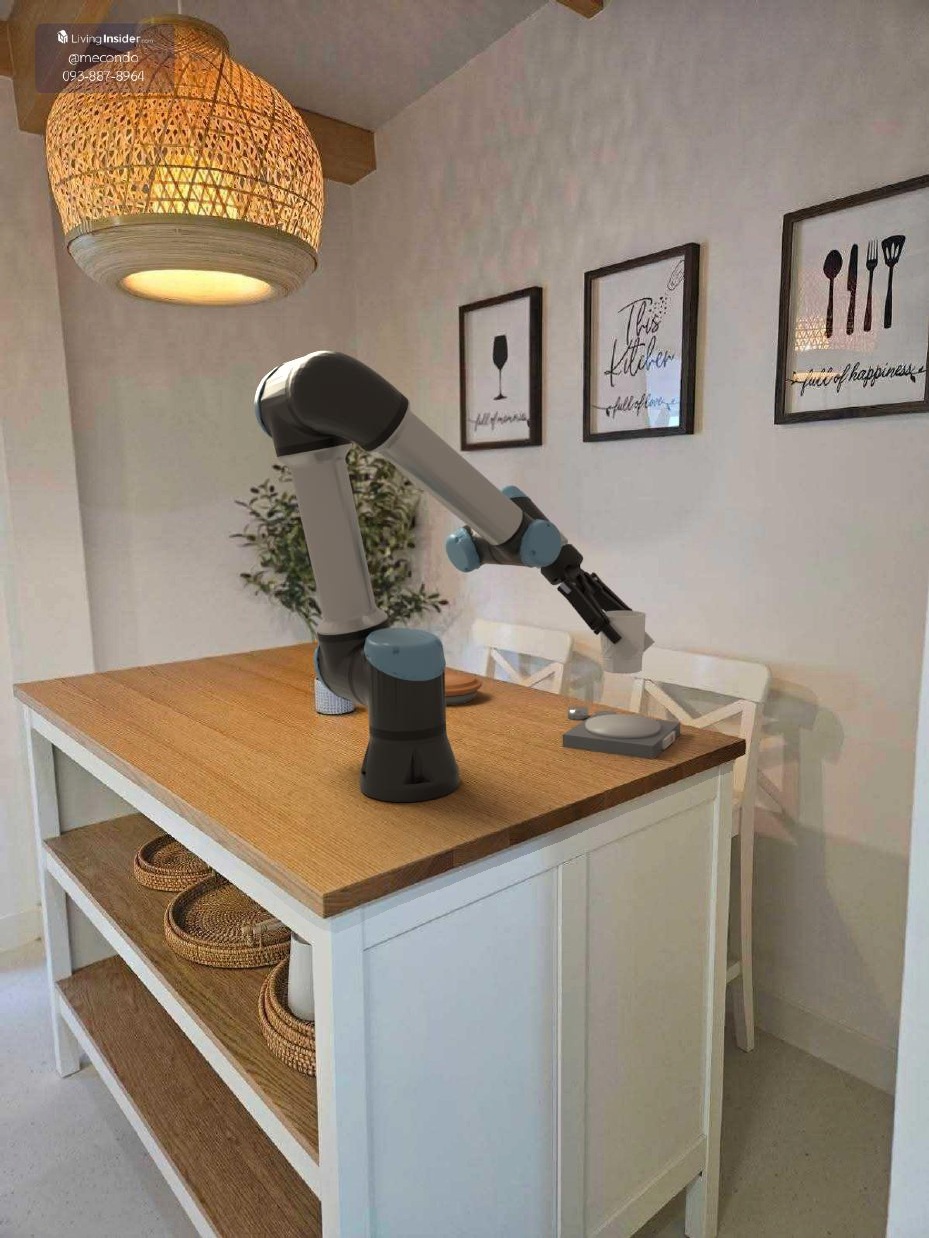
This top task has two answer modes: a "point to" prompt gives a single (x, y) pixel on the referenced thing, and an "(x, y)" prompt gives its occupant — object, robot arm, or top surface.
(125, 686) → the top surface
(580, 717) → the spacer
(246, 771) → the top surface
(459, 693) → the pie
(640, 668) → the white cup
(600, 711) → the cylinder
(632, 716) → the scale
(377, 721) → the robot arm
